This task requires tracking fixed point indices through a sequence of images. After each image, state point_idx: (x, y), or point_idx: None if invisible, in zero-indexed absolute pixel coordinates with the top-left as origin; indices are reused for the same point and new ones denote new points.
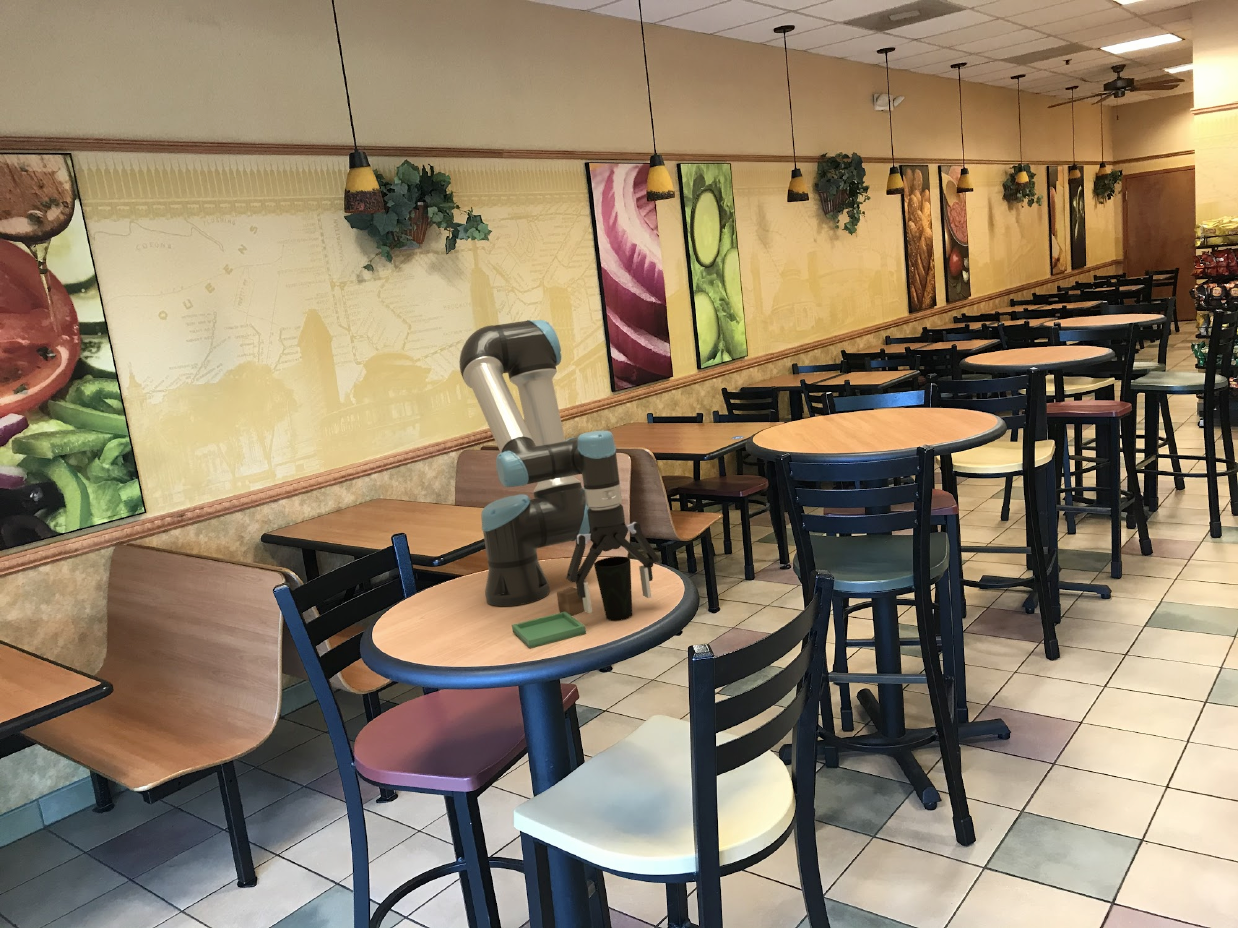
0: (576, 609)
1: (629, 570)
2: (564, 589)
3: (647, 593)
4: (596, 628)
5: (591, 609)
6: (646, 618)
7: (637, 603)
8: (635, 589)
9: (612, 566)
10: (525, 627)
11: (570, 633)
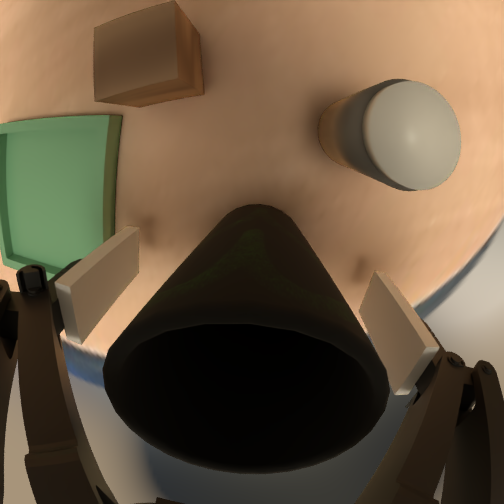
0: (162, 98)
1: (303, 423)
2: (131, 16)
3: (363, 320)
4: (151, 279)
5: (133, 278)
6: None
7: (378, 192)
8: (451, 73)
9: (189, 462)
10: (19, 132)
11: None
